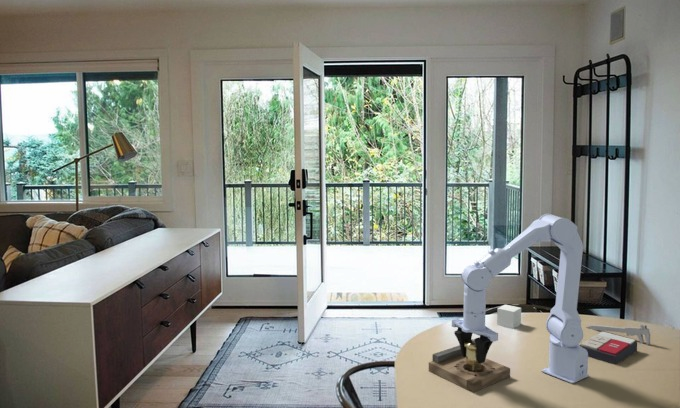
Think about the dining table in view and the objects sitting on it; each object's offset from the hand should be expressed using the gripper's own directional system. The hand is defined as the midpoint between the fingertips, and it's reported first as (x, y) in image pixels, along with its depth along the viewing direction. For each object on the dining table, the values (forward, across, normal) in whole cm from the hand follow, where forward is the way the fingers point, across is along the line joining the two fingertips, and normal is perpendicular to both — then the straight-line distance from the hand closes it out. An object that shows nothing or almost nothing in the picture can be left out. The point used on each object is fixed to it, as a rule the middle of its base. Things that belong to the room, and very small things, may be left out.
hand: (473, 359), depth 145 cm
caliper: (+6, +7, +61) cm, 62 cm away
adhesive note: (+5, -21, +42) cm, 48 cm away
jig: (+5, -2, 0) cm, 5 cm away
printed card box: (+6, +13, +46) cm, 48 cm away
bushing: (+2, 0, 0) cm, 2 cm away
